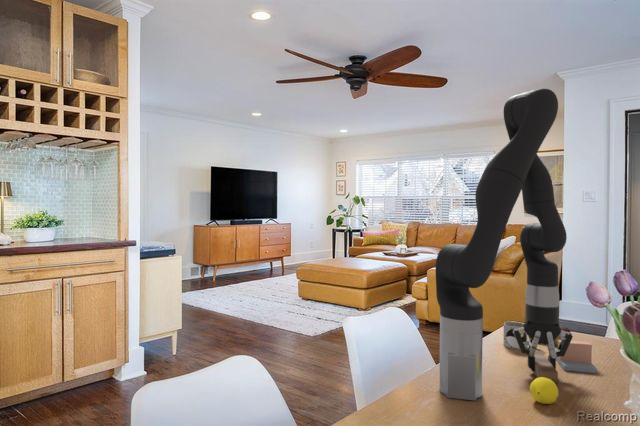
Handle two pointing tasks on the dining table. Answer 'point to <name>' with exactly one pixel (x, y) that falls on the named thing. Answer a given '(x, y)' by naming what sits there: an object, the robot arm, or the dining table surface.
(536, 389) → the lemon
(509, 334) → the mug
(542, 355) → the walnut bar
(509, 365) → the dining table surface
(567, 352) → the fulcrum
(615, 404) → the dining table surface
